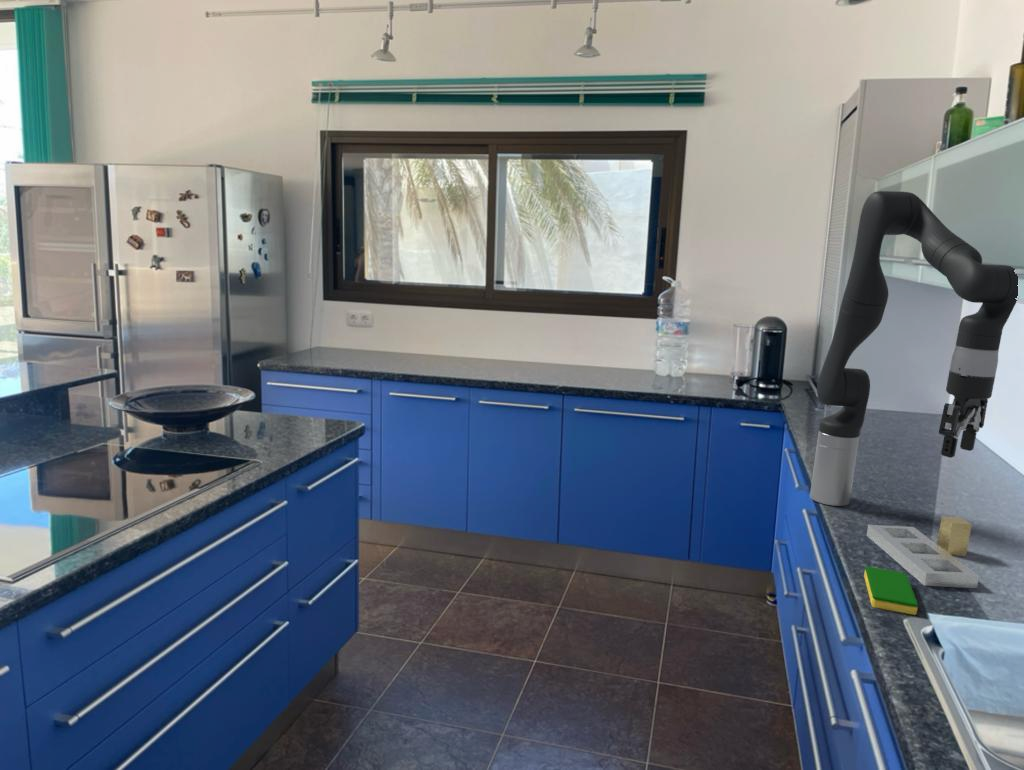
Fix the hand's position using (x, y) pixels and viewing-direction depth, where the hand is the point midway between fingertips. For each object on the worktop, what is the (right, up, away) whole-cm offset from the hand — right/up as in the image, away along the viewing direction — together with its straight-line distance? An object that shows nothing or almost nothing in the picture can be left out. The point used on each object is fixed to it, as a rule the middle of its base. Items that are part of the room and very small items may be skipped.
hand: (957, 452), depth 147 cm
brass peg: (+7, -22, +13) cm, 27 cm away
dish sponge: (-17, -26, -8) cm, 32 cm away
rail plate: (-3, -23, +8) cm, 24 cm away
